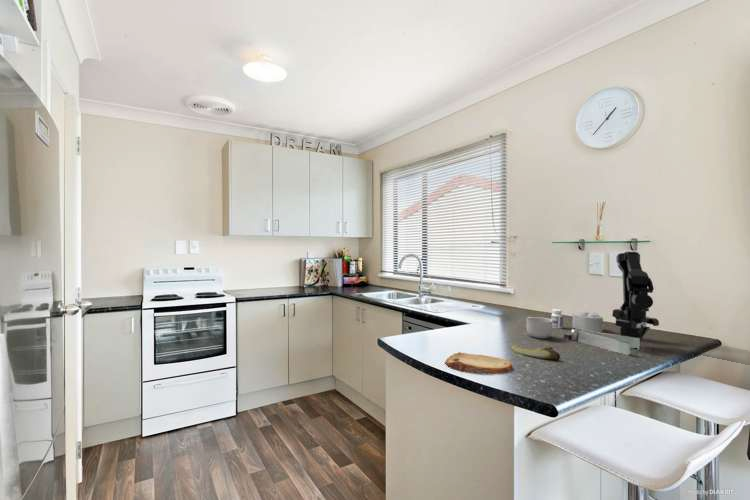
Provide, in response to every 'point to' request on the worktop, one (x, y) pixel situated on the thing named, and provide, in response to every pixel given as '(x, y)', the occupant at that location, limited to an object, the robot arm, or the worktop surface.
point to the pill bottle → (557, 319)
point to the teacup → (539, 327)
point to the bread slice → (478, 363)
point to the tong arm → (619, 338)
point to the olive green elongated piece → (537, 352)
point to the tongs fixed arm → (599, 341)
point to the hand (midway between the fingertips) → (636, 343)
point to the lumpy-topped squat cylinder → (588, 321)
